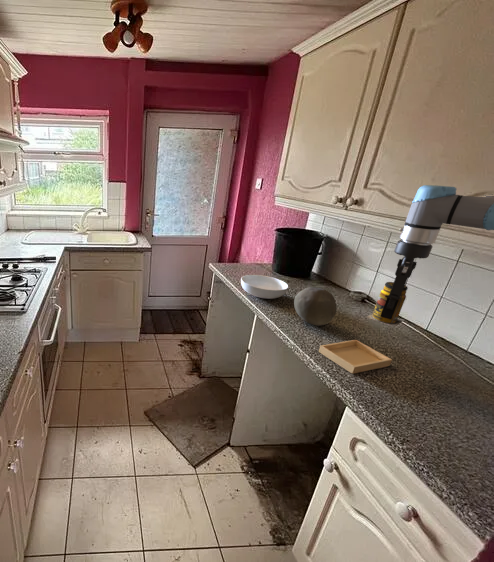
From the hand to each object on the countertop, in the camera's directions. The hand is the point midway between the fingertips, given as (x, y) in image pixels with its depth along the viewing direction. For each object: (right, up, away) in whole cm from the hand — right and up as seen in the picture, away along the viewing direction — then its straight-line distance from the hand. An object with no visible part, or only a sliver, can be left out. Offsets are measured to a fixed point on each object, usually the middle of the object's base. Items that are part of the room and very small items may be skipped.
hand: (386, 313), depth 97 cm
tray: (-6, -16, +7) cm, 18 cm away
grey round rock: (-6, -7, +29) cm, 30 cm away
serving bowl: (-14, +3, +55) cm, 57 cm away
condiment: (+1, -2, +1) cm, 3 cm away
